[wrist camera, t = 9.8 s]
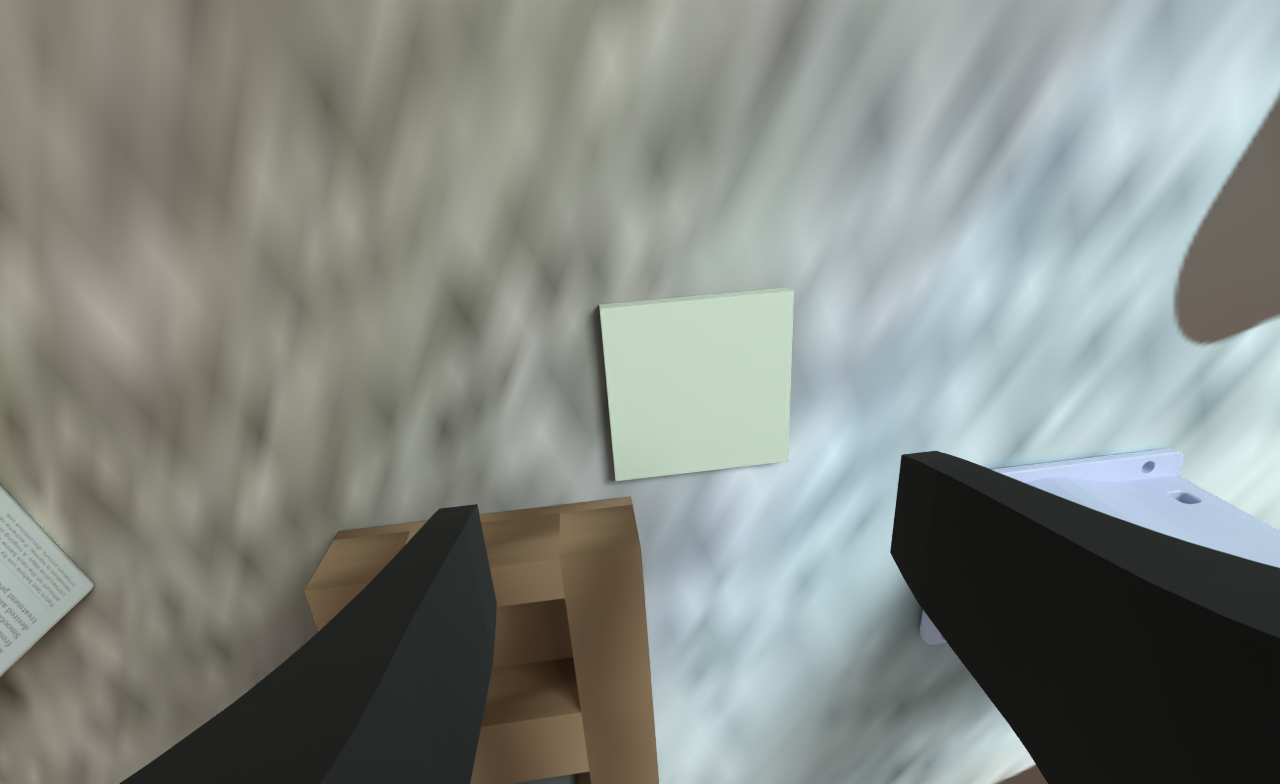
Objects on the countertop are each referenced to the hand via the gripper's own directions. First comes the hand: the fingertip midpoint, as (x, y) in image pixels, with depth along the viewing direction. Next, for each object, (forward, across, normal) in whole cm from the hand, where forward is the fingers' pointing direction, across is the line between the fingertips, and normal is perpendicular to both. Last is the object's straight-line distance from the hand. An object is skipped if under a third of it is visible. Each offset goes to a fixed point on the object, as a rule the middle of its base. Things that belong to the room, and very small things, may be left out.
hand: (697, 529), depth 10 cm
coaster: (+10, -2, +2) cm, 10 cm away
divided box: (+10, +6, +14) cm, 18 cm away
